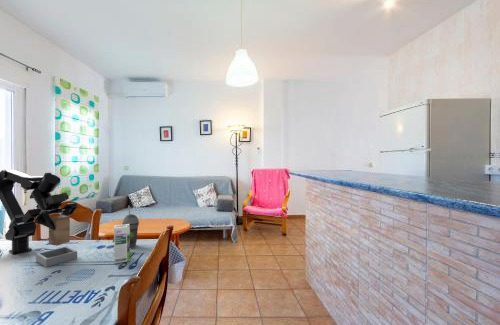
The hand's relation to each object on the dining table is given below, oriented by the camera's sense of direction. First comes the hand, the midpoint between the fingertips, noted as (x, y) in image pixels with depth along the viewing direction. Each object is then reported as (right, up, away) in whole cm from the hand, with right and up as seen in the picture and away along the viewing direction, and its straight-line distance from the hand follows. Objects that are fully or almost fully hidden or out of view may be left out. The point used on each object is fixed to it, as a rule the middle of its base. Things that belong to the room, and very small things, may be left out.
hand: (61, 227), depth 101 cm
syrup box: (+25, -14, 0) cm, 29 cm away
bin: (-2, -13, 0) cm, 14 cm away
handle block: (-1, -7, +1) cm, 7 cm away
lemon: (+21, -14, +9) cm, 27 cm away
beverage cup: (+21, -14, +16) cm, 30 cm away
